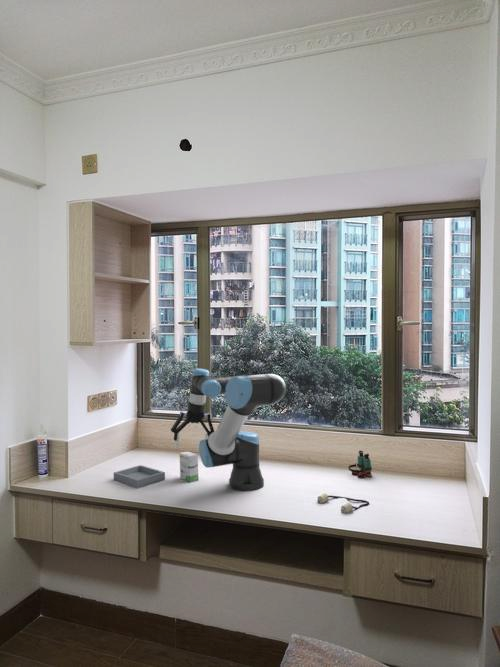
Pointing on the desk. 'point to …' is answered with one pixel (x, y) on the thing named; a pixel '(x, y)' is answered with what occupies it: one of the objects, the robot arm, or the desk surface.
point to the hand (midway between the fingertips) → (190, 447)
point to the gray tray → (139, 476)
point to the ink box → (189, 466)
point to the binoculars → (362, 466)
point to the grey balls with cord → (344, 508)
